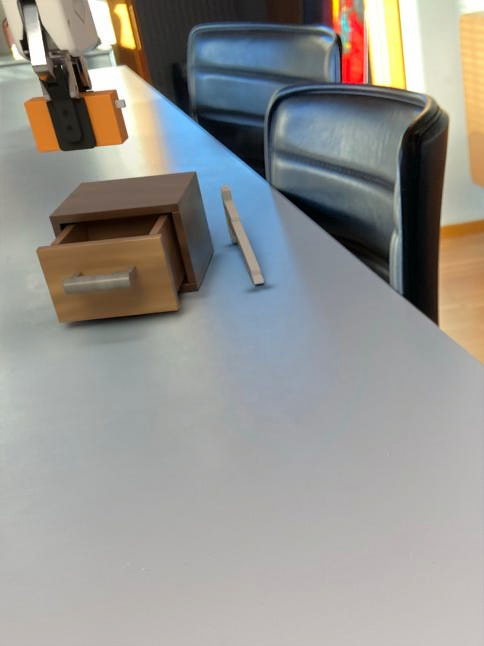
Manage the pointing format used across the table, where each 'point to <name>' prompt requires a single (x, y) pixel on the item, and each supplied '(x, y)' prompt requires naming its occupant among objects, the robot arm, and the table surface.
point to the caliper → (240, 235)
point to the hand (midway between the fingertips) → (83, 142)
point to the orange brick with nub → (101, 112)
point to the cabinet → (148, 212)
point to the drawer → (114, 267)
